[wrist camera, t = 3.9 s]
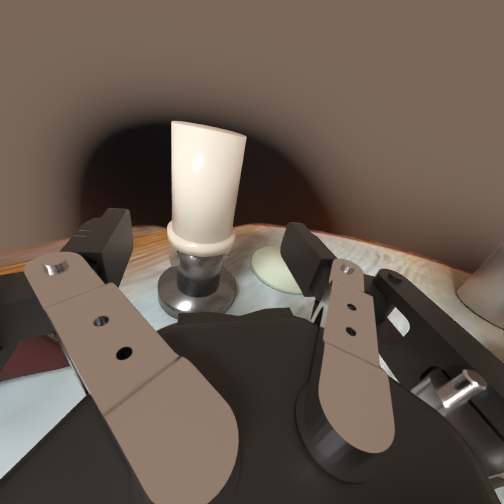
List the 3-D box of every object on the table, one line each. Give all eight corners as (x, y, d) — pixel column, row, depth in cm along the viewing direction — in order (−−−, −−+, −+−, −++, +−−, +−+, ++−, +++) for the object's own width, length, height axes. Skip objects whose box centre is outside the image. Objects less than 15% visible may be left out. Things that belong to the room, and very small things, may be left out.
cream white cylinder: (220, 222, 24) (231, 129, 19) (244, 252, 19) (267, 143, 15) (162, 224, 21) (158, 116, 16) (175, 261, 16) (175, 128, 12)
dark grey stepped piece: (218, 266, 28) (225, 217, 25) (245, 310, 23) (259, 257, 19) (153, 276, 25) (149, 220, 21) (166, 332, 19) (164, 271, 15)
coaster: (291, 247, 37) (293, 243, 36) (334, 285, 30) (336, 281, 29) (239, 254, 32) (240, 249, 31) (275, 302, 25) (277, 297, 24)
